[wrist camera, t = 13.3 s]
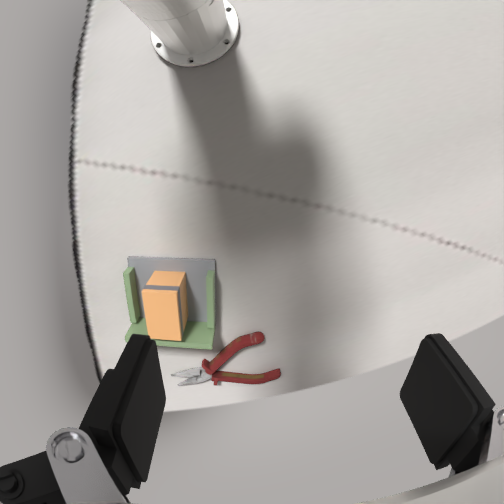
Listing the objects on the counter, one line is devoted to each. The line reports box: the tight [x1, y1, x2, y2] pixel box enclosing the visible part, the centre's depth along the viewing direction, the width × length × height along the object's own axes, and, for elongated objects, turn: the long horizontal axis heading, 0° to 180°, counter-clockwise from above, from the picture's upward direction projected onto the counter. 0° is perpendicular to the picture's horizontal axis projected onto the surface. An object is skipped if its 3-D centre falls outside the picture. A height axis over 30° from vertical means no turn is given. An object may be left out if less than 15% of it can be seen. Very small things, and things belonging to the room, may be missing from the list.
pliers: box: [171, 332, 281, 386], centre depth 54 cm, size 12×20×3 cm, turn 110°
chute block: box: [142, 271, 188, 341], centre depth 45 cm, size 8×5×7 cm, turn 178°
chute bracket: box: [123, 256, 216, 349], centre depth 46 cm, size 12×14×7 cm
